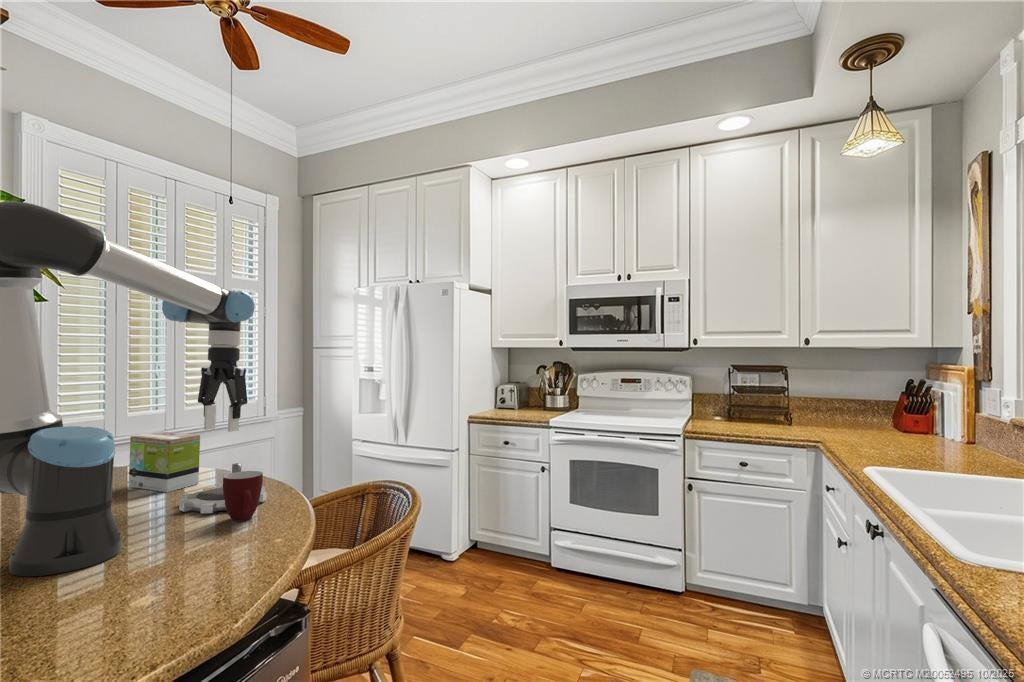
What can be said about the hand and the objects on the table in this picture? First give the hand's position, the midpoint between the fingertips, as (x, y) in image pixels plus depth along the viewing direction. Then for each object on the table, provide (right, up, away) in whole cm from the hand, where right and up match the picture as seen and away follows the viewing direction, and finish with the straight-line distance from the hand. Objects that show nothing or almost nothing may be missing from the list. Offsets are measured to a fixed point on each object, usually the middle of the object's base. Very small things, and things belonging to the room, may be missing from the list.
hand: (221, 429), depth 133 cm
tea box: (-20, -18, +6) cm, 27 cm away
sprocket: (+7, -17, -10) cm, 20 cm away
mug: (+18, -17, -22) cm, 33 cm away
